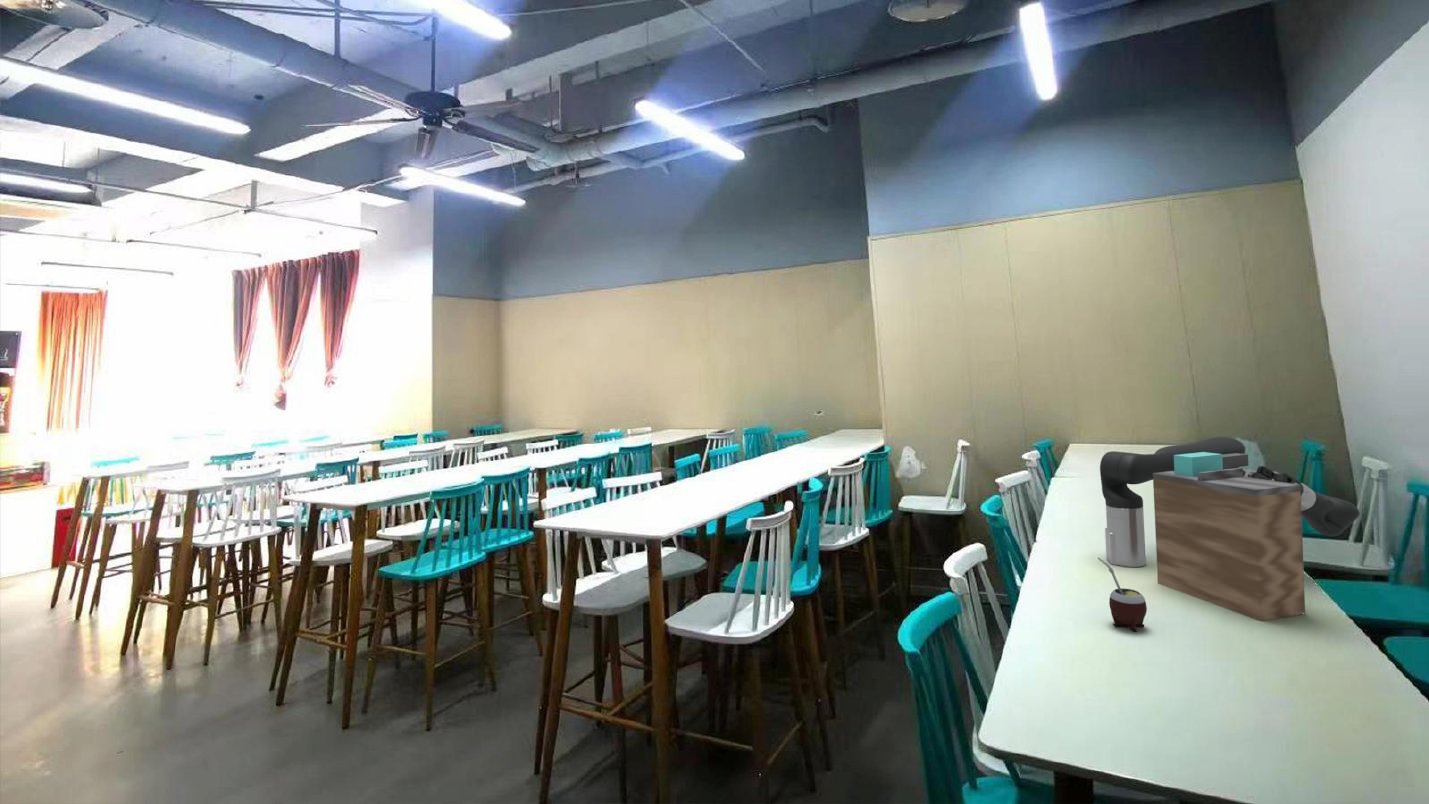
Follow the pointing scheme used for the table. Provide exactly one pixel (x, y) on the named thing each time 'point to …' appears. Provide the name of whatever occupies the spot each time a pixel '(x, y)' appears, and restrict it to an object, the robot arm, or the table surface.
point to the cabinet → (1231, 541)
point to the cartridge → (1207, 462)
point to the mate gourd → (1126, 606)
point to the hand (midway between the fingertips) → (1241, 466)
